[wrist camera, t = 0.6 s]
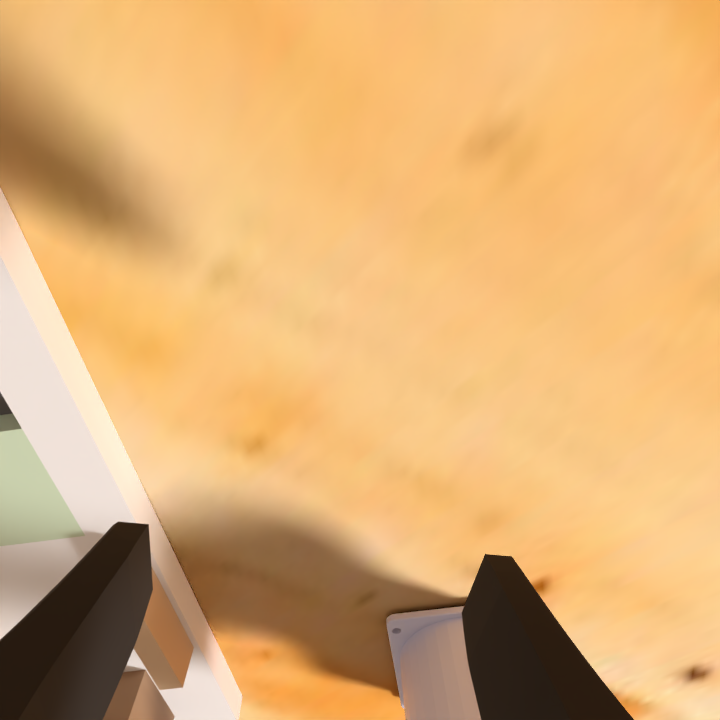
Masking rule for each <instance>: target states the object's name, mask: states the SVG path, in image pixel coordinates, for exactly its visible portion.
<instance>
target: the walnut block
mask: <svg viewBox="0 0 720 720" xmlns="http://www.w3.org/2000/svg"><path fill="white" fill-rule="evenodd" d="M174 717H175V716H174V714H173V713H172V711H171V710H170V708H169V706H168V705H167V703H166V701H165V700H164V698H163V697H162V695H161V693H160V692H159V690H158V689H157V687H156V685H155V684H154V682H153V681H152V679H151V677H150V676H149V674H148V673H147V671H146V670H138V671H129V672H123V674H122V677H121V679H120V681H119V684H118V686H117V688H116V691H115V693H114V695H113V697H112V700H111V702H110V704H109V707H108V709H107V711H106V714H105V716H104V718H103V720H174Z"/></svg>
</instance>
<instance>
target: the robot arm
mask: <svg viewBox="0 0 720 720" xmlns="http://www.w3.org/2000/svg"><path fill="white" fill-rule="evenodd" d="M152 591H153V582H152V567H151V552H150V536H149V524H140V523H129V522H117V523H115V524H114V525H112V527H111V528H110V529H109V530H108V531H107V532H106V533H105V534H104V535H103V537H102V538H101V539H100V540H99V541H98V542H97V543H96V544H95V545H94V546H93V547H92V548H91V550H90V551H89V552H88V553H87V554H86V555H85V556H84V557H83V558H82V559H81V560H80V561H79V562H78V563H77V564H76V565H75V566H74V568H73V569H72V570H71V571H70V572H69V573H68V574H67V575H66V576H65V577H64V578H63V579H62V580H61V581H60V582H59V583H58V584H57V585H56V586H55V587H54V588H53V589H52V590H51V591H50V592H49V593H48V594H47V595H46V596H45V597H44V598H43V599H42V600H41V601H40V602H39V603H38V604H37V605H36V606H35V607H34V608H33V609H32V610H31V611H30V612H29V613H28V614H27V615H26V616H25V617H24V618H23V619H22V620H21V621H20V622H18V623H17V624H16V625H15V626H14V627H13V628H12V629H11V630H10V631H9V632H8V633H7V634H6V635H5V636H3V637H2V638H1V639H0V720H103V718H104V716H105V714H106V711H107V709H108V707H109V704H110V702H111V700H112V697H113V695H114V693H115V691H116V688H117V686H118V684H119V681H120V679H121V677H122V674H123V672H124V670H125V667H126V665H127V663H128V660H129V658H130V656H131V653H132V651H133V649H134V646H135V644H136V641H137V638H138V635H139V632H140V629H141V626H142V623H143V620H144V617H145V614H146V610H147V607H148V604H149V601H150V597H151V594H152ZM386 625H387V631H388V636H389V642H390V647H391V652H392V658H393V663H394V669H395V674H396V680H397V685H398V690H399V696H400V701H401V706H402V707H403V708H404V709H405V719H406V720H634V719H633V718H632V717H631V716H630V714H629V713H628V712H627V711H626V710H625V708H624V707H623V706H622V705H621V703H620V702H619V701H618V700H617V698H616V697H615V696H614V695H613V693H612V692H611V691H610V690H609V689H608V687H607V686H606V685H605V684H604V682H603V681H602V680H601V678H600V677H599V676H598V675H597V673H596V672H595V671H594V669H593V668H592V667H591V666H590V664H589V663H588V662H587V660H586V659H585V658H584V656H583V655H582V654H581V652H580V651H579V650H578V648H577V647H576V646H575V644H574V643H573V642H572V640H571V639H570V638H569V636H568V635H567V634H566V632H565V631H564V629H563V628H562V627H561V625H560V624H559V623H558V621H557V620H556V618H555V617H554V616H553V614H552V613H551V611H550V610H549V609H548V607H547V606H546V604H545V603H544V602H543V600H542V599H541V597H540V596H539V594H538V593H537V592H536V590H535V589H534V587H533V586H532V584H531V583H530V582H529V580H528V579H527V577H526V576H525V574H524V573H523V572H522V570H521V569H520V567H519V566H518V565H517V563H516V562H515V560H514V559H513V558H512V557H510V556H499V555H488V554H485V556H484V558H483V561H482V563H481V566H480V568H479V571H478V573H477V576H476V578H475V581H474V583H473V586H472V588H471V591H470V593H469V596H468V598H467V601H466V603H465V606H460V607H451V608H442V609H433V610H424V611H415V612H407V613H398V614H392V615H390V616H388V617H387V618H386Z"/></svg>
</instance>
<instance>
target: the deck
mask: <svg viewBox="0 0 720 720" xmlns="http://www.w3.org/2000/svg"><path fill="white" fill-rule="evenodd" d="M117 522H129V523H140V524H149V536H150V552H151V567H152V582H153V591H152V594H151V597H150V601H149V604H148V607H147V610H146V614H145V617H144V620H143V623H142V626H141V629H140V632H139V635H138V638H137V641H136V644H135V646H134V649H133V651H132V653H131V656H130V658H129V660H128V663H127V665H126V667H125V670H124V672H129V671H138V670H146V671H147V673H148V674H149V676H150V677H151V679H152V681H153V682H154V684H155V685H156V687H157V689H158V690H159V692H160V693H161V695H162V697H163V698H164V700H165V701H166V703H167V705H168V706H169V708H170V710H171V711H172V713H173V714H174V716H175V717H174V720H239V714H240V708H241V702H242V694H241V692H240V690H239V688H238V686H237V684H236V681H235V679H234V677H233V675H232V673H231V671H230V669H229V667H228V665H227V662H226V660H225V658H224V656H223V654H222V652H221V650H220V648H219V646H218V644H217V641H216V639H215V637H214V635H213V633H212V631H211V629H210V627H209V625H208V623H207V620H206V618H205V616H204V614H203V612H202V610H201V608H200V606H199V604H198V601H197V599H196V597H195V595H194V593H193V591H192V589H191V587H190V585H189V583H188V580H187V578H186V576H185V574H184V572H183V570H182V568H181V566H180V564H179V562H178V559H177V557H176V555H175V553H174V551H173V549H172V547H171V545H170V543H169V540H168V538H167V536H166V534H165V532H164V530H163V528H162V526H161V524H160V522H159V519H158V517H157V515H156V513H155V511H154V509H153V507H152V505H151V503H150V501H149V498H148V496H147V494H146V492H145V490H144V488H143V486H142V484H141V482H140V479H139V477H138V475H137V473H136V471H135V469H134V467H133V465H132V463H131V461H130V458H129V456H128V454H127V452H126V450H125V448H124V446H123V444H122V442H121V439H120V437H119V435H118V433H117V431H116V429H115V427H114V425H113V423H112V421H111V418H110V416H109V414H108V412H107V410H106V408H105V406H104V404H103V402H102V400H101V397H100V395H99V393H98V391H97V389H96V387H95V385H94V383H93V381H92V378H91V376H90V374H89V372H88V370H87V368H86V366H85V364H84V362H83V360H82V357H81V355H80V353H79V351H78V349H77V347H76V345H75V343H74V341H73V339H72V336H71V334H70V332H69V330H68V328H67V326H66V324H65V322H64V320H63V317H62V315H61V313H60V311H59V309H58V307H57V305H56V303H55V301H54V299H53V296H52V294H51V292H50V290H49V288H48V286H47V284H46V282H45V280H44V278H43V275H42V273H41V271H40V269H39V267H38V265H37V263H36V261H35V259H34V256H33V254H32V252H31V250H30V248H29V246H28V244H27V242H26V240H25V238H24V235H23V233H22V231H21V229H20V227H19V225H18V223H17V221H16V219H15V216H14V214H13V212H12V210H11V208H10V206H9V204H8V202H7V200H6V198H5V195H4V193H3V191H2V189H1V187H0V639H1V638H2V637H3V636H5V635H6V634H7V633H8V632H9V631H10V630H11V629H12V628H13V627H14V626H15V625H16V624H17V623H18V622H20V621H21V620H22V619H23V618H24V617H25V616H26V615H27V614H28V613H29V612H30V611H31V610H32V609H33V608H34V607H35V606H36V605H37V604H38V603H39V602H40V601H41V600H42V599H43V598H44V597H45V596H46V595H47V594H48V593H49V592H50V591H51V590H52V589H53V588H54V587H55V586H56V585H57V584H58V583H59V582H60V581H61V580H62V579H63V578H64V577H65V576H66V575H67V574H68V573H69V572H70V571H71V570H72V569H73V568H74V566H75V565H76V564H77V563H78V562H79V561H80V560H81V559H82V558H83V557H84V556H85V555H86V554H87V553H88V552H89V551H90V550H91V548H92V547H93V546H94V545H95V544H96V543H97V542H98V541H99V540H100V539H101V538H102V537H103V535H104V534H105V533H106V532H107V531H108V530H109V529H110V528H111V527H112V525H114V524H115V523H117Z"/></svg>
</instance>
